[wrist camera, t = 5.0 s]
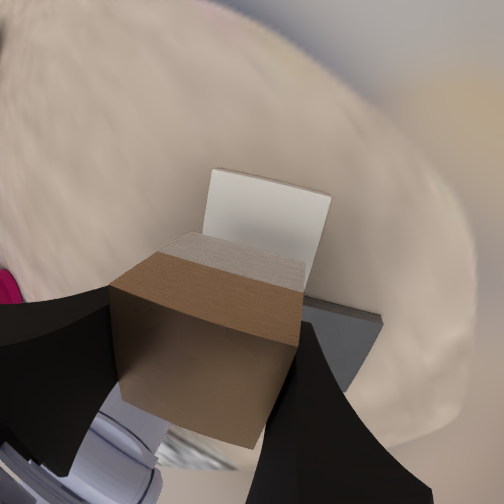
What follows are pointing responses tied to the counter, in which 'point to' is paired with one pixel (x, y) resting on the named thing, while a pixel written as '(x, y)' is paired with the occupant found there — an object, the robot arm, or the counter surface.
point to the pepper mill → (8, 289)
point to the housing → (207, 334)
